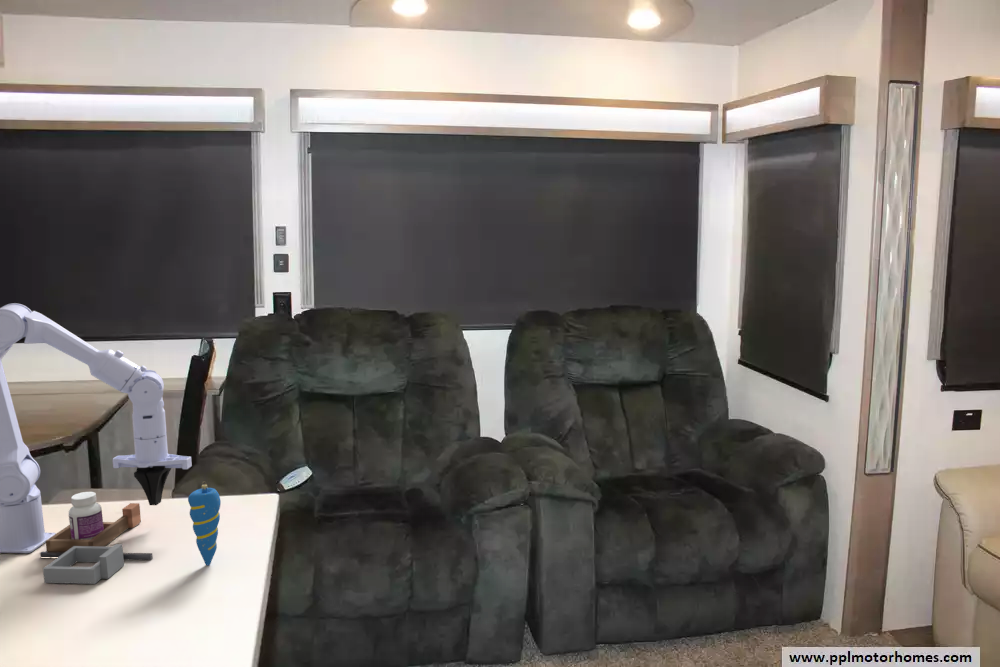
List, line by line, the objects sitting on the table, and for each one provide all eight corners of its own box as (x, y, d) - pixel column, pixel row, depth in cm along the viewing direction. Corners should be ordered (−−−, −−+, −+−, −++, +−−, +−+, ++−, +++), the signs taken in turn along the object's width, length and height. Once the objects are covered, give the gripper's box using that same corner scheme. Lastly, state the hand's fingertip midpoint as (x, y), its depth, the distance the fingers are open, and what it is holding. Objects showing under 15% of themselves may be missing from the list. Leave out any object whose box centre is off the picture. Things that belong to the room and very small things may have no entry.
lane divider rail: (40, 558, 138) (40, 552, 138) (42, 556, 139) (42, 551, 139) (151, 560, 137) (150, 554, 137) (152, 558, 138) (152, 553, 137)
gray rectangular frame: (44, 582, 129) (42, 561, 128) (75, 559, 137) (73, 538, 136) (102, 583, 128) (100, 561, 127) (129, 560, 137) (127, 539, 136)
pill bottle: (111, 539, 146) (106, 490, 144) (93, 552, 140) (88, 501, 139) (84, 538, 146) (79, 489, 145) (65, 551, 141) (60, 500, 140)
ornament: (186, 567, 134) (179, 484, 132) (210, 555, 138) (204, 474, 136) (207, 574, 132) (201, 489, 129) (231, 561, 136) (225, 479, 134)
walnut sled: (47, 554, 139) (44, 534, 139) (93, 521, 154) (92, 502, 153) (98, 555, 139) (96, 534, 138) (140, 521, 153) (139, 503, 153)
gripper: (101, 440, 145) (107, 510, 147) (177, 442, 144) (182, 512, 147) (121, 430, 152) (127, 496, 154) (194, 431, 151) (199, 498, 154)
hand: (155, 503), depth 151 cm, fingers closed
